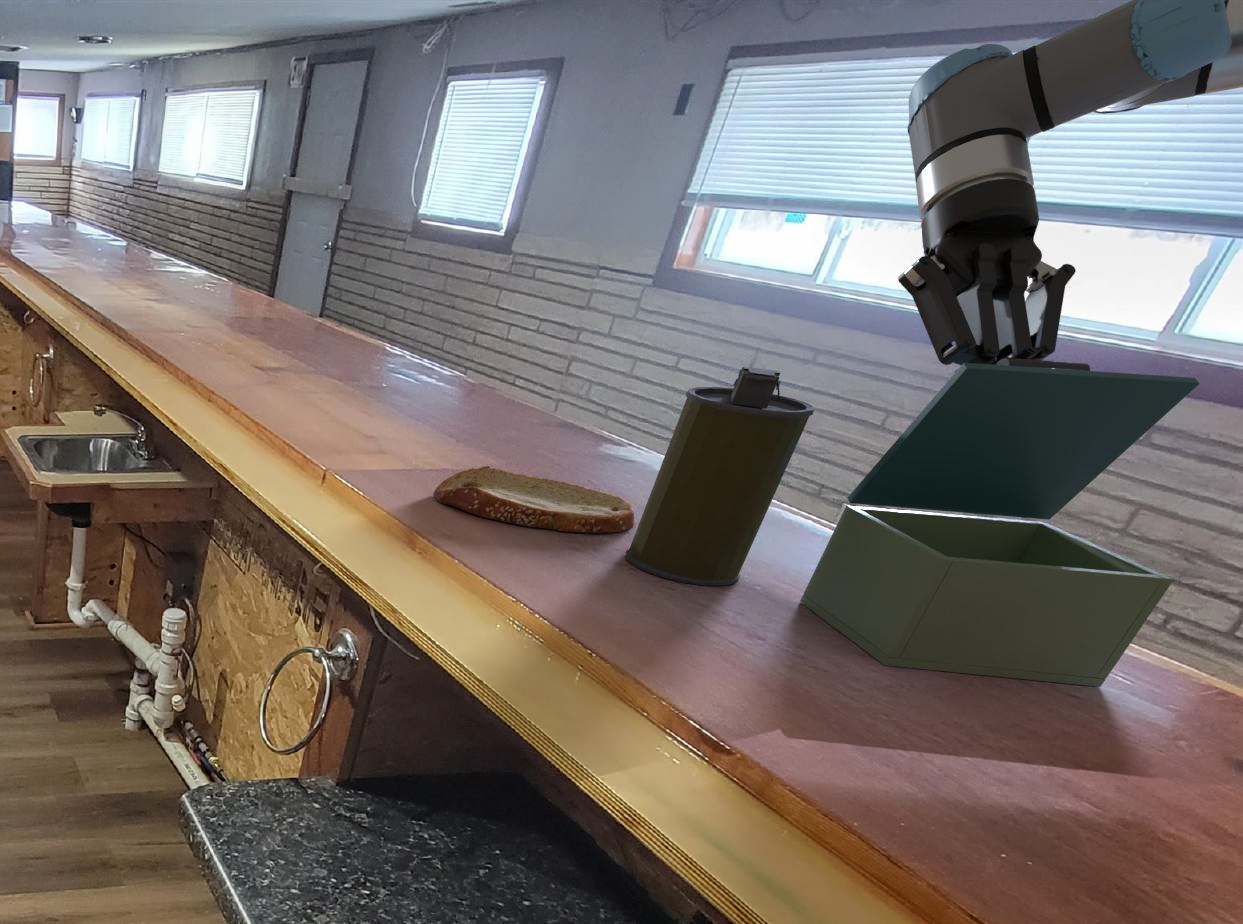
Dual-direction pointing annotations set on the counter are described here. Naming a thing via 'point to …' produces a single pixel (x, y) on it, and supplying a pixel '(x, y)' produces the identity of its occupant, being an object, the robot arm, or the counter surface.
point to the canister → (718, 479)
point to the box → (981, 595)
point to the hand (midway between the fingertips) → (1006, 432)
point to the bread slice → (535, 502)
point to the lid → (1017, 437)
